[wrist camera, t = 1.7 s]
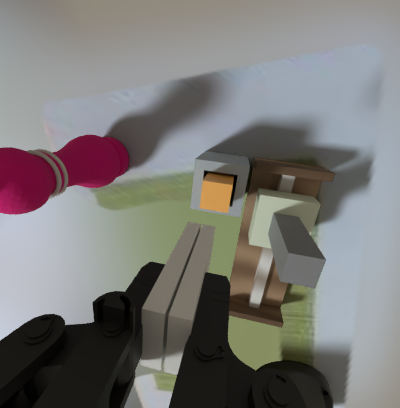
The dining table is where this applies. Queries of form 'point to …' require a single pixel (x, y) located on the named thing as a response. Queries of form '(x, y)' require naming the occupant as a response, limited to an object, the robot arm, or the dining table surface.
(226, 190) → the button
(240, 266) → the rail board
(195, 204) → the orange button box
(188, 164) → the dining table surface
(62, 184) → the pepper mill
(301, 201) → the carriage
